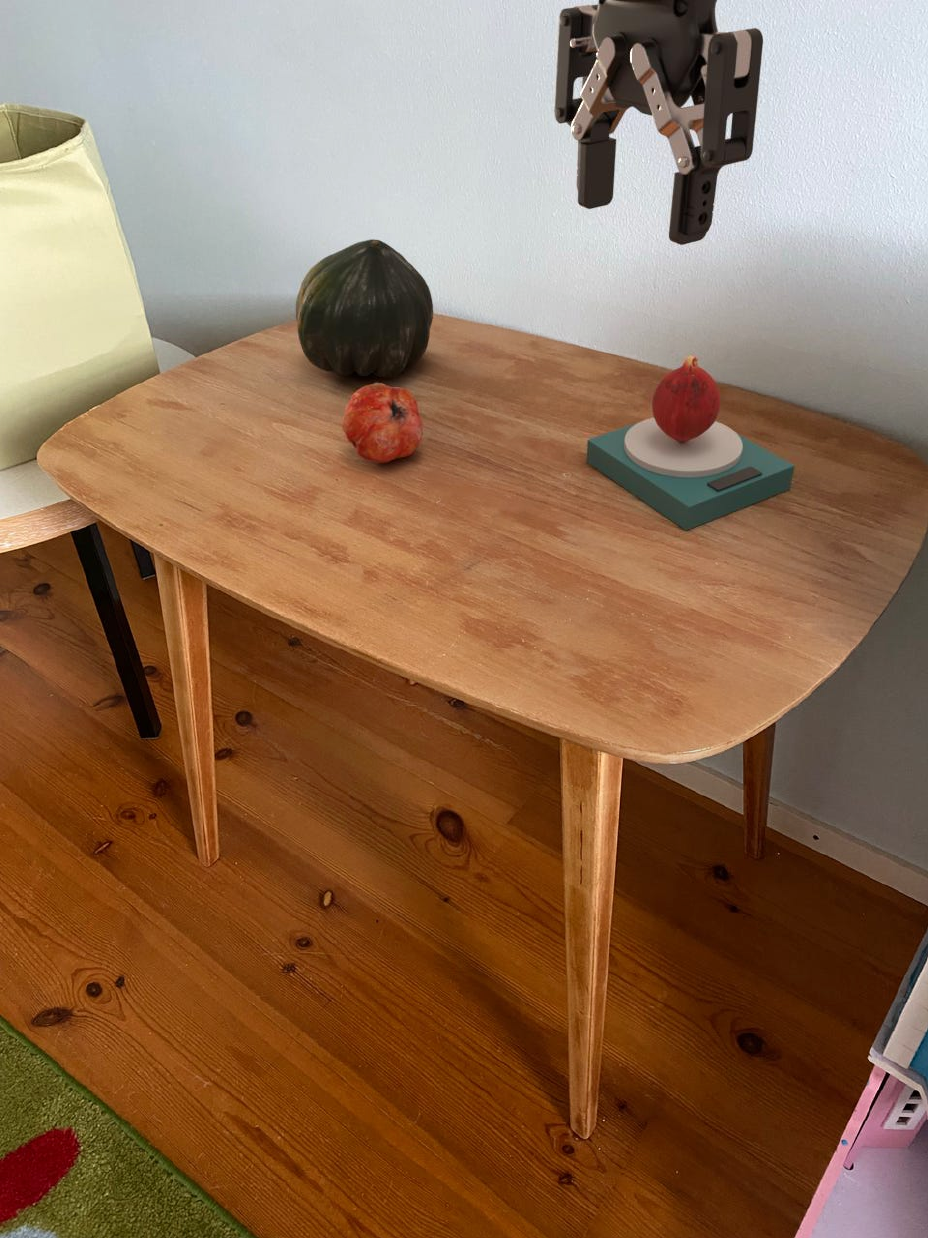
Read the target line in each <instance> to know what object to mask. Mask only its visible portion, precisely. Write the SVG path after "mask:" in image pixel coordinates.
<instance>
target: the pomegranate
mask: <svg viewBox="0 0 928 1238" xmlns="http://www.w3.org/2000/svg"><path fill="white" fill-rule="evenodd" d="M423 422H424V421H423V419H422V418H421V416H420V414H419V406H418V402H417V401H416V399H415V397H414V396H413V394H412V393H411V392H410V391H409V390H408V389H405V388H403V387H392V386H389V385H386V384H384V383H381V382H374V383H372V384H366V385H363V386H362V387H361V388H359V389H358V390H356V391H355V392H354V393H353V394H352V395H351V397H350V400H349V401H348V403H347V405H346V406H345V410H344V415H343V418H342V422H341V423H342V424H341V425H342V430H343V433H344V435H345V437H346V439H347V441H348V442H349V443H350V444H351V445H352V446H353V447H354V450H355V451H356V452H357V454H358V456H360V458H363V459H365V460H367V461H370V462H374V463H379V464H385V463H388V462H390V461H393V460H395V459H402V458H406V457H409V456H410V455H412V454H413V453H414V452H415V450H416V448H418V446H419V445H420V444H421V442H422V440H423V436H424V428H423V427H424V425H423V424H424V423H423Z"/></svg>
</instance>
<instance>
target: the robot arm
mask: <svg viewBox="0 0 928 1238" xmlns="http://www.w3.org/2000/svg"><path fill="white" fill-rule="evenodd" d="M717 2H718V0H598V3H596V4H592V5H591V4H585V5H576V6H574V7H567V8H563V9H562V10H560V13H559V17H558V31H557V49H556V72H555V89H554V107H553V108H554V109H553V113H554V114H553V115H554V118H555V121H556V122H557V123H558V124H560V125H561V124H565V123H566V124H567V125H568V126H569V127H570V128H571V129H570V130H571V134H572V137H573V138H574V140H575V141H577V163H576V164H577V165H576V166H577V169H576V190H577V203H578V205H579V206H580V207H582V208H585V209H587V210H593V209H597V208H601V207H605V206H609V204H611V203H612V201H613V198H614V186H615V169H616V151H617V138H613V137H610V135H613V134H614V132H615V131H616V129H617V128H618V126H619V124H620V123H621V121H622V119H623V116H624V115H625V113H626V112H627V111H628V109H630V108H632V107H633V108H634V109H636V110H637V111H638V112H639V113H640V114H643V115H647V116H650V117H651V116H652V118H653V121H654V125H655V128H656V130H657V132H658V133H659V134H660V135H662V136H664V137H665V138H666V139H667V140H668V142H669V147H670V150H671V153H672V155H673V159H674V162H675V165H676V167H677V172H674V174H673V186H672V194H671V207H670V218H669V228H668V239H669V240H670V242H672V243H675V244H678V245H680V246H684V245H687V244H691V243H695V242H699V241H702V240H703V239H704V238H705V237H706V235H707V233H708V232H709V231H710V228H711V226H712V223H713V216H714V208H715V199H716V192H717V183H718V176H719V173H720V170H721V169H722V168H723V167H726V166H728V165H733V164H737V163H740V162H741V163H742V162H746V161H748V160H749V159H750V158H751V157H752V155H753V149H754V142H755V141H754V140H755V128H756V121H757V120H756V119H757V109H758V101H759V100H758V99H759V98H758V97H759V91H760V90H759V88H760V77H761V67H762V57H763V48H764V35H763V33H762V31H761V30H760V29H759V28H756V27H753V28H746V29H739V30H734V31H733V30H732V31H727V32H726V31H719V29H718V25H717V18H716V5H717ZM579 78H581V90H580V93H579V96H580V97H577V98H574V89H575V88H574V87H575V82H576V80H577V79H579ZM690 98H691V100H692V103H693V105H690V106H689V105H688V106H684V105H686V103H687V102H688V101H689V99H690ZM730 115H731V124H730V125H731V128H730V137H729V138H727V137H726V135H727V125H728V119H729V116H730ZM691 131H693V132H695V134H696V136H697V140H698V143H699V145H695V142H694V139H693V136H692V134H691Z"/></svg>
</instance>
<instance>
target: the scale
mask: <svg viewBox="0 0 928 1238" xmlns="http://www.w3.org/2000/svg"><path fill="white" fill-rule="evenodd" d="M586 443H587V444H586V463H587V464H588V465H590V466H591V467H593V468H594V469H596V470H597V471H599V472H600V473H601V474H603V475H604V476H606V477H607V478H609V479H610V480H612V481H613V482H614V483H616V484H617V485H619V486H620V487H622V488H623V489H625V490H626V491H627V492H628V493H630V494H632V495H633V496H635V497H636V498H638V499H639V500H641V501H642V502H643V503H645V504H646V505H648V506H649V507H651V508H652V509H653V510H655V511H656V512H658V513H659V514H661V515H662V516H664V517H665V518H667V519H668V520H669V521H671V522H673V524H675V525H677V526H678V527H679V528H681V529H683V530H684V531H689V530H692V529H694V528H697V527H699V526H701V525H704V524H707V523H710V522H712V521H713V520H714V521H715V520H717V519H719V518H722V517H725V516H726V515H727V516H728V515H730V514H731V513H734V512H736V511H739V510H742V509H744V508H747V507H749V506H752V505H754V504H757V503H759V502H762V501H765V500H766V499H769V498H772V497H774V496H777V495H779V494H781V493H785V492H786V491H789V490H790V489H791V487H792V483H793V482H792V481H793V476H794V472H795V471H794V470H795V465H794V464H792V463H791V462H789V461H787V460H786V459H784V458H782V457H780V456H778V455H776V454H775V453H773V452H771V451H769V450H767V449H766V448H764V447H762V446H760V445H759V444H756V443H755V442H753V441H751V440H750V439H748V438H746V437H744V436H742V435H741V434H739V433H737V432H736V431H734V430H733V429H732V428H731V427H729V426H727V425H726V424H724V423H721V422H718V421H716V420H715V422H714V423H713V425H712V426H711V427H710V428H709V429H708V430H707V431H705V432H704V433H703V434H701V435H700V436H698V437H696V438H694V439H691V440H689V441H687V442H684V443H680V442H677V441H676V440H674V439H672V438H670V437H669V436H668V435H666V434H665V433H664V432H663V431H662V430H661V428H660V427H659V426H658V425H657V423H656V421H655V419H654V416H653V417H650V418H647V419H644V420H641V421H638V422H635V423H633V424H629V425H627V426H623V427H621V428H618V429H615V430H612V431H609V432H605V433H604V434H603V433H602V434H599V435H597V436H594V437H591V438H589V439H587V441H586Z"/></svg>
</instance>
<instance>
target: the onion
mask: <svg viewBox="0 0 928 1238" xmlns="http://www.w3.org/2000/svg"><path fill="white" fill-rule="evenodd" d="M698 361H699V358H697V357H696V356H695V355H693V354H690V355H689V356H687V357H685V359H684V362H683V364H682V365H681V366H680V367H677V368H675V369H674V370H671V371H670V372H668V373H667V374H666V375H665V376H664V377H663V378H662V379H661V380H660V382H659V384H658V385H657V387H656V388H655V390H654V393H653V396H652V401H651V408H652V415H653V417H654V419H655V421H656V423H657V425H658V426H659V427H660V428H661V430H662V431H663V432H664V433H665V434H666V435H668V436H669V437H670V438H672V439H674V440H676V441H677V442H680V443H684V442H687V441H689V440H691V439H694V438H696V437H698V436H700V435H701V434H703V433H704V432H705V431H707V430H708V429H709V428H710V427H711V426H712V425H713V423H714V422H715V421H716V419H717V418H718V415H719V412H720V409H721V402H722V399H721V398H722V397H721V393H720V390H719V387H718V385H717V383H716V381H715V380H714V378H713V377H712V375H711V374H709V372H708V371H706V370H705V369H703V368H702V367H701V366H699V365H698Z"/></svg>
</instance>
